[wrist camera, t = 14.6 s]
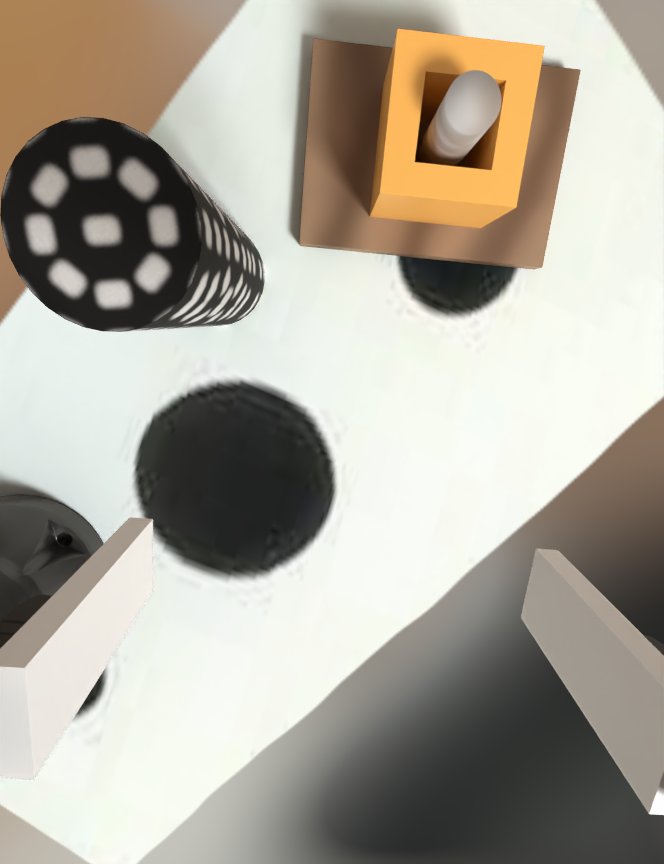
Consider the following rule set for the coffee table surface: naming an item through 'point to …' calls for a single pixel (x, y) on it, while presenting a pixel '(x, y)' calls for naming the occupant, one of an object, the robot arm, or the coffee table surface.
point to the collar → (418, 102)
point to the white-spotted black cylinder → (123, 233)
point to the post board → (356, 167)
